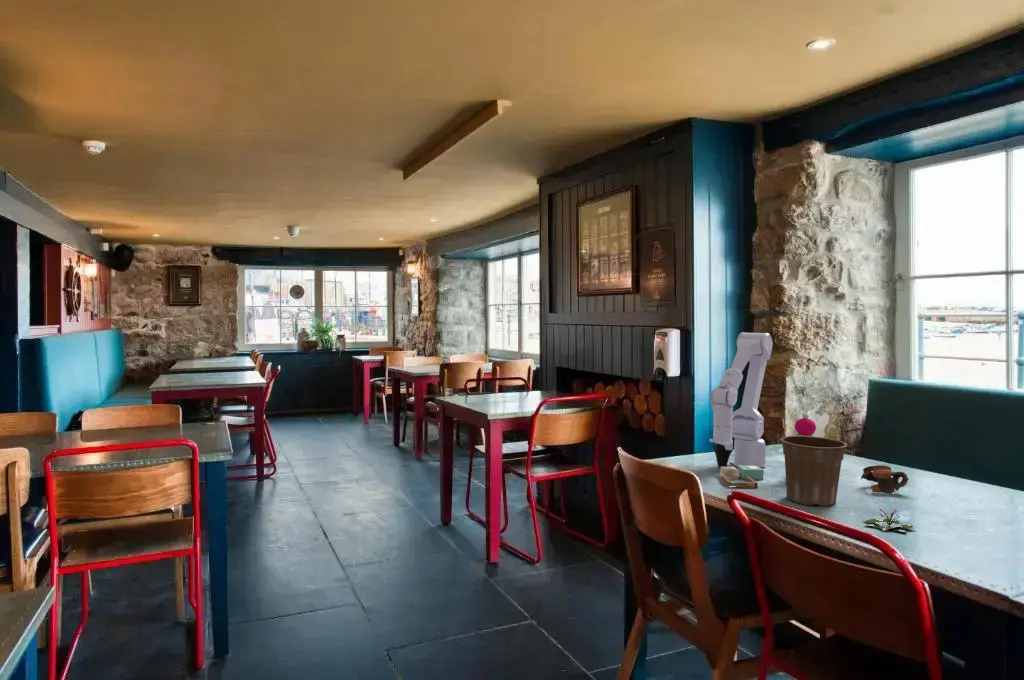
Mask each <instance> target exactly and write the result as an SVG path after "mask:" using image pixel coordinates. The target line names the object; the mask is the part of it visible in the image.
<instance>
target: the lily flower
mask: <svg viewBox="0 0 1024 680" xmlns="http://www.w3.org/2000/svg"><path fill="white" fill-rule="evenodd" d="M878 509H879V511H880V512H883V514H882V513H880V516H881V517H882V518H884V519H883V522H887V524H888V525H891V524H892V523H895V524H899V523H900V520H897V519H899V518H901V515H900V516H899V514H896V515H895V516H894V514H895V513H897V512H898V510H897V509H894V510H893V511H892V513H891V510H892V507H891V508H890V513H889V512H888V511H884V510H886V508H885V507H883V509H884V510H883V509H882V508H881V507H878ZM885 516H886V517H885ZM876 519H877V518H875V519H873V518H872V519H871V518H870V519H867V520H864V521H865V523H866V524H865V526H866V525H869V524H877V523H876V522H878V523H879V522H882V521H879V520H876ZM891 520H892V521H891ZM893 520H894V521H893ZM895 520H896V521H895ZM866 521H867V522H866ZM888 522H889V523H888ZM890 522H891V523H890ZM888 525H887V526H888ZM883 526H884V525H882V526H880V525H878V524H877V527H879V529H883V528H885V527H886V526H884V527H883ZM901 526H902V527H901V529H904V528H903V527H906V528H905V529H906V530H909V529H908V528H912V529H914V528H913V527H912V526H908V525H901ZM889 529H892V527H886V531H888V530H889Z"/></svg>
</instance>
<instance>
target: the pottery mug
mask: <svg viewBox="0 0 1024 680" xmlns="http://www.w3.org/2000/svg"><path fill="white" fill-rule="evenodd" d="M862 471H863V473H862V475H861V477H860V480H863V479H864V480H865V481H869V482H874V483H877V484H873V485H870V488H871V491H872V493H873V492H878V493H877V494H879V493H881V494H882V493H883V494H884V493H885V494H890V493H893V492H894V493H895V491H897V492H898V491H899V490H900V489H901V488H904V487H905V486H906V485H907V484H908V481H909V478H908V475H907V473H905V472H904V471H895V472H894V471H892V467H891V466H888V465H884V464H883V465H878V464H877V465H870V466H866V467H863V469H862ZM900 478H902V479H901V481H900V482H899V479H900Z"/></svg>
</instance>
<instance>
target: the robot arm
mask: <svg viewBox="0 0 1024 680" xmlns="http://www.w3.org/2000/svg"><path fill="white" fill-rule="evenodd" d="M736 346H737V351H736V354H735V356H734V359H733V361H732V364H731V367H730V368H728V369H726V370H725V372H724V374H723V376H722V378H721V380H720V382H719V384H718V386H717V387H716V388H713V389H712V391H711V392H710V396H709V399H710V403H711V409H712V411H713V430H712V431H713V434H712V435H713V436H712V437H713V438H709V442H710V443H715V444H713V445H711V447H712V449H713V451H714V456H715V458H716V459H715V460H716V463H717V467H718V469H719V470H720V469H721V467H728V464H729V463H731V464H732V465H734V467H735V468H736V467H737V466H738V465H757V466H759V467H760V468H766V467H767V465H766V441H765V440H764V439H763V438H762V436H763V435H764V432H765V429H764V428H765V427H764V421H765V418H764V416H763V415H762V414H761V413H760V411H759V410H758V407H759V402H760V397H761V392H762V387H763V381H764V378H765V371H766V366H767V361H769V360H770V359H771V354H772V350H773V338H772V336H771V334H770V333H768V332H744V331H742V332H740V333H739V334H738V337H737V339H736ZM748 362H749V364H748ZM747 364H748V365H749V366H748V370H747V374H746V380H745V386H744V389H743V395H742V400H741V405H740V407H739V408H738V409H736V410H734V406H735V405H736V404H737V401H738V393H739V391H738V389H739V387H740V385H741V384H742V381H743V378H744V375H743V373H742V372H743V371H744V370H745V368H746V366H747ZM733 410H734V411H733ZM733 438H734V440H733ZM733 442H734V444H733ZM733 451H734V452H733ZM732 452H733V453H734V454H733V460H729V459H730V456H731V454H732ZM728 462H729V463H728Z"/></svg>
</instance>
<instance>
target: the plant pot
mask: <svg viewBox="0 0 1024 680" xmlns="http://www.w3.org/2000/svg"><path fill="white" fill-rule="evenodd" d="M780 442H781V443H782V453H783V455H784V466H785V467H784V468H785V471H784V472H785V487H786V498H787V499H788V501H789V500H790V501H791V502H794V503H795V504H796V503H797V504H800V505H804V506H805V505H806V506H815V505H818V506H819V507H831V506H833V505H835V504H836V503H837V496H838V489H839V482H840V477H841V476H840V474H841V467H842V461H843V460H844V456H845V449H846V448H847V446H848V444H847V443H846V442H844V441H841V440H837V439H832V438H828V437H819V436H814V437H810V436H797V435H791V436H790V435H789V436H784V437H781V438H780Z"/></svg>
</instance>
